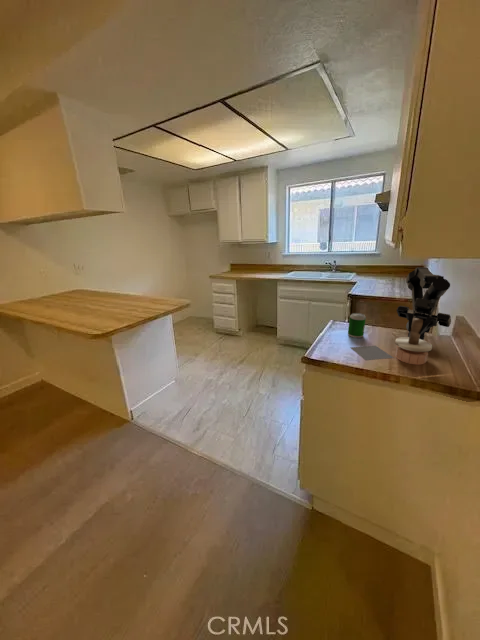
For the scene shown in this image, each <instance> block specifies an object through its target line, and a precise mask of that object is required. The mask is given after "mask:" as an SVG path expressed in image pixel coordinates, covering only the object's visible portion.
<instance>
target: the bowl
mask: <svg viewBox="0 0 480 640" xmlns="http://www.w3.org/2000/svg"><path fill="white" fill-rule="evenodd" d="M394 356H395V358H396V359H398V360H399V361H401V362H403V363H406V364H410V365H418V366H419V365H424V364H426V363H427V360H428V356H429V351H428V352H415V351H409V350H406V349H403V348H401V347H399V346H397V345H396V350H395V355H394Z"/></svg>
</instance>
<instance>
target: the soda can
mask: <svg viewBox="0 0 480 640" xmlns="http://www.w3.org/2000/svg"><path fill="white" fill-rule="evenodd" d="M366 318H367V317H366V316H365V314H364V313H361V312H353V313H351V314H350V316H349V320H348V330H347V335H348V336H349V337H352V338H355V339H360V338H363V337H364V334H365V326H366Z"/></svg>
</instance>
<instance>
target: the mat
mask: <svg viewBox="0 0 480 640" xmlns="http://www.w3.org/2000/svg"><path fill="white" fill-rule="evenodd" d="M349 348H350V349H351V350H352V351H353V352H355V353H356V354H357V355H359V356H360V357H361V358H362V359H363V360H365V361H373V360H375V361H376V360H383V359H395V357H394V356H392V355H391V354H390V353H387V352H386V351H385V350H383V349H381V348H380V347H379V346H377V345H366V346H365V345H364V346H353V347H349Z"/></svg>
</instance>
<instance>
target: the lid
mask: <svg viewBox="0 0 480 640" xmlns="http://www.w3.org/2000/svg"><path fill="white" fill-rule="evenodd" d="M422 325H423V319H420V318H413V321H412V326H411V331H410V336H409V337H408V336H400V337H396V338H395V341H394V343H395V345H396V347H397V346H399V347H401V348H403V349H406V350H409V351H415V352H428V353H429V352H430V351H432V349H433V345H432V343H430V342H429V341H426V340H425V339H424V340H421V339H420V334H419V332H420V330H421V328H422Z"/></svg>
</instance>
